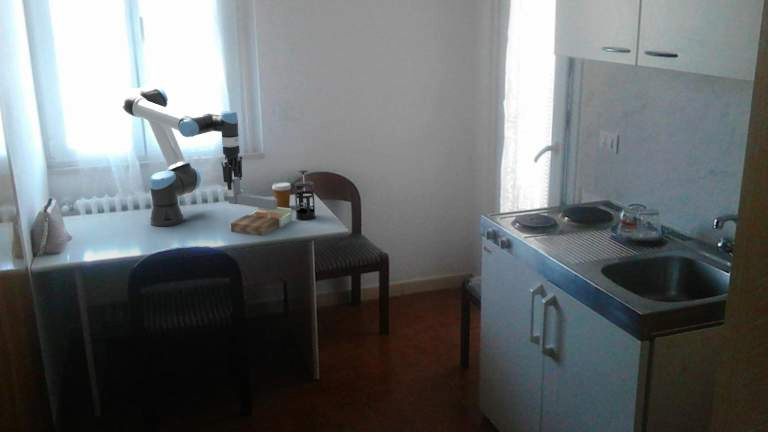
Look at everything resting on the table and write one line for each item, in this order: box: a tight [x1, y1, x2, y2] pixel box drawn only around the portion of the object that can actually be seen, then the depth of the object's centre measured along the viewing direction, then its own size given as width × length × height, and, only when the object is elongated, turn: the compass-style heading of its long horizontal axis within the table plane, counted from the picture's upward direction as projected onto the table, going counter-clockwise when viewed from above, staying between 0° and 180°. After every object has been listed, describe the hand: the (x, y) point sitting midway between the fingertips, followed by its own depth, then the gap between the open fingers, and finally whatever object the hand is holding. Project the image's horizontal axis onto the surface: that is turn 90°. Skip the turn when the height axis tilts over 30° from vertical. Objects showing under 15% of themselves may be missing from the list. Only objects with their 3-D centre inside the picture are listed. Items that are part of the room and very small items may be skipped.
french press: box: [293, 169, 317, 222], centre depth 338 cm, size 12×9×23 cm
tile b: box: [270, 211, 283, 224], centre depth 331 cm, size 5×5×3 cm
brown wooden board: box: [230, 214, 280, 236], centre depth 325 cm, size 17×13×4 cm
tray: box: [248, 207, 293, 228], centre depth 335 cm, size 18×10×6 cm, turn 67°
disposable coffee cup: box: [271, 181, 292, 208], centre depth 357 cm, size 10×10×12 cm
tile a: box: [254, 209, 268, 217], centre depth 334 cm, size 5×5×3 cm
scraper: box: [227, 175, 277, 210], centre depth 329 cm, size 24×4×12 cm, turn 67°
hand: (234, 194), depth 334 cm, fingers closed on scraper, 4 cm apart
